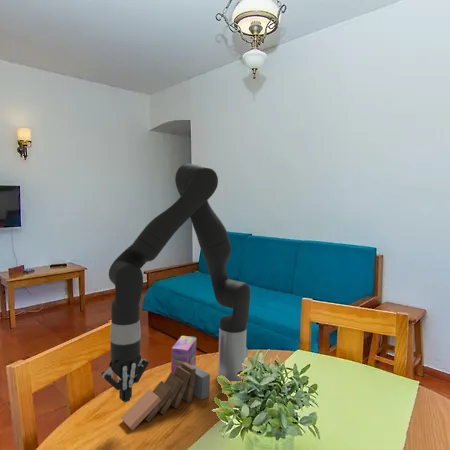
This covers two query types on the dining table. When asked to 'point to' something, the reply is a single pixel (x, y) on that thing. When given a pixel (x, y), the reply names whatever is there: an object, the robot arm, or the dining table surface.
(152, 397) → the domino end
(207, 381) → the block
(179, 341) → the box
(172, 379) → the domino
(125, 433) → the dining table surface
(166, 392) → the domino
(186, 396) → the domino
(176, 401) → the domino
